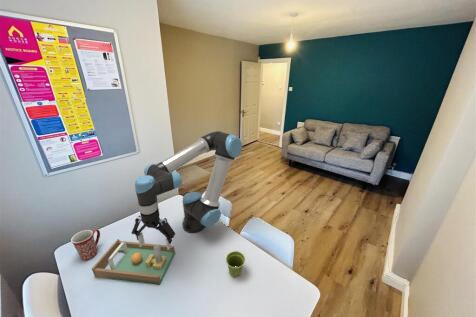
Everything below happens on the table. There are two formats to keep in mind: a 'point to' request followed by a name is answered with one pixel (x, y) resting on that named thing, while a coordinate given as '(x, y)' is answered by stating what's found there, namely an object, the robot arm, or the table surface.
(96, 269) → the pitch
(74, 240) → the mug
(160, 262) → the kicker
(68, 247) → the table surface
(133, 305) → the table surface
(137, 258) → the ball
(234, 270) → the plant pot
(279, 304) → the table surface
